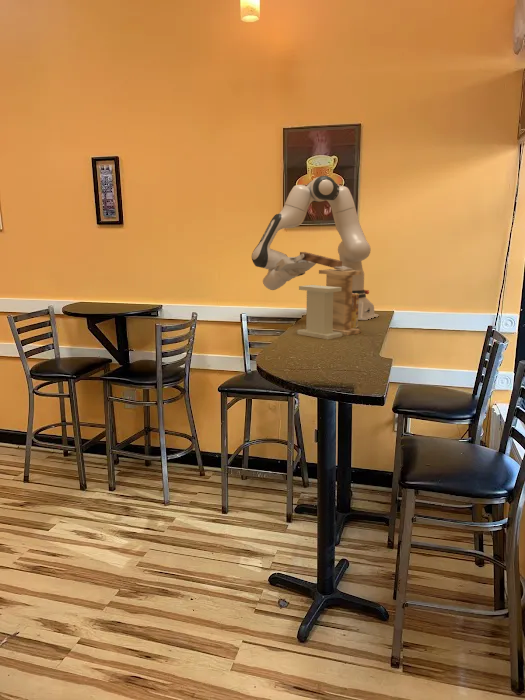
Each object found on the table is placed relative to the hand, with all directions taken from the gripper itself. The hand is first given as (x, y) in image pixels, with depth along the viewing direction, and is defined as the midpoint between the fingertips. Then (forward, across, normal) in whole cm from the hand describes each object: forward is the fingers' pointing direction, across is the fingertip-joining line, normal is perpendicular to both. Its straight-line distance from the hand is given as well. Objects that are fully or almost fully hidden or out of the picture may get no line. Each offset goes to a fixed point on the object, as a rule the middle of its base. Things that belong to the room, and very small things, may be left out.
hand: (307, 254), depth 234 cm
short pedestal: (0, -12, +37) cm, 39 cm away
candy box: (-4, +11, +35) cm, 37 cm away
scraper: (+6, 0, +8) cm, 10 cm away
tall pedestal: (0, 0, +37) cm, 37 cm away
